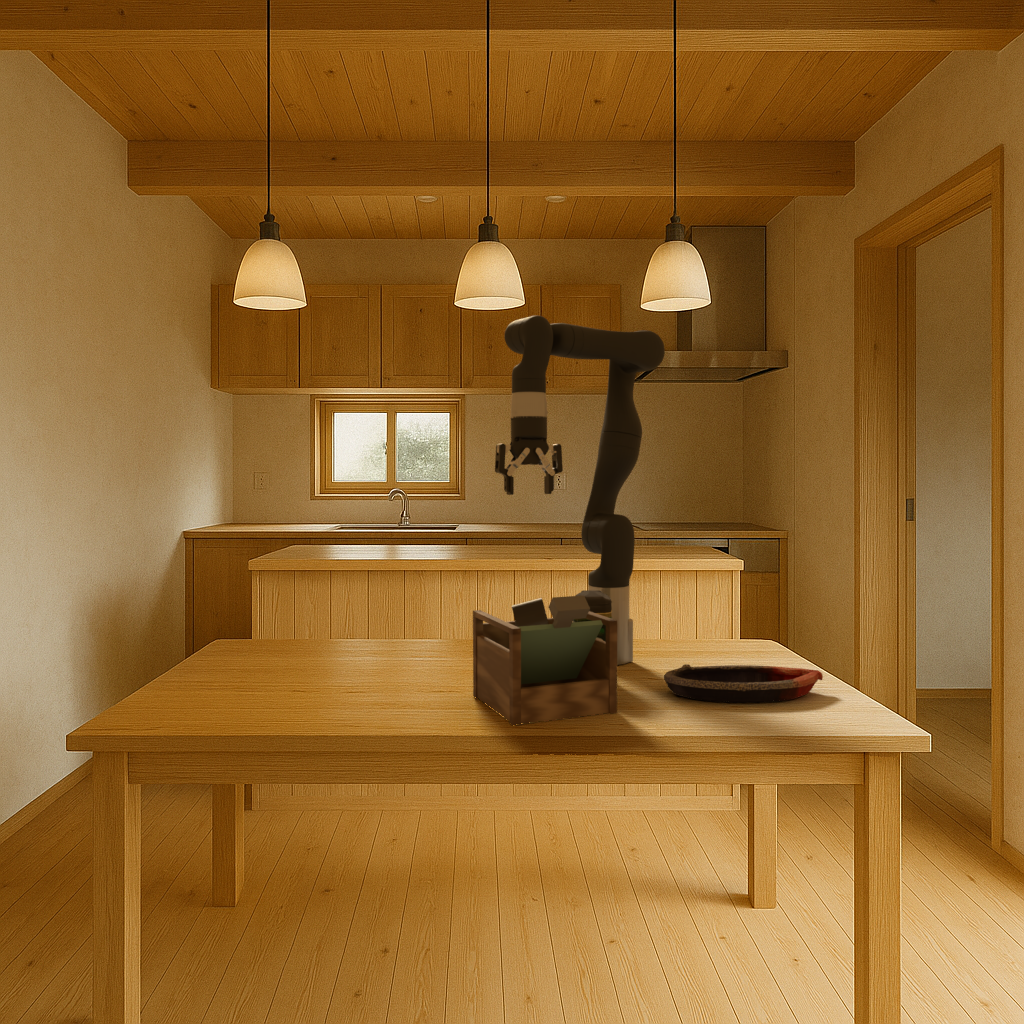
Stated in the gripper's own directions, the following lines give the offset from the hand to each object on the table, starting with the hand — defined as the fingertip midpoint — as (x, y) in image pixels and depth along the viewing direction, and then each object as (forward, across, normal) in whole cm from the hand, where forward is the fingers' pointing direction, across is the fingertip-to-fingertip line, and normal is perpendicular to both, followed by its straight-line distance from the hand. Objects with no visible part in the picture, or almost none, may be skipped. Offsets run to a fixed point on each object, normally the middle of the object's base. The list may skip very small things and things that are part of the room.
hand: (529, 494), depth 173 cm
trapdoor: (+27, +6, +26) cm, 38 cm away
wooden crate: (+38, +6, +20) cm, 43 cm away
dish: (+39, -32, +29) cm, 58 cm away
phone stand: (+30, +6, +19) cm, 36 cm away
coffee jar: (+38, -10, +9) cm, 41 cm away
